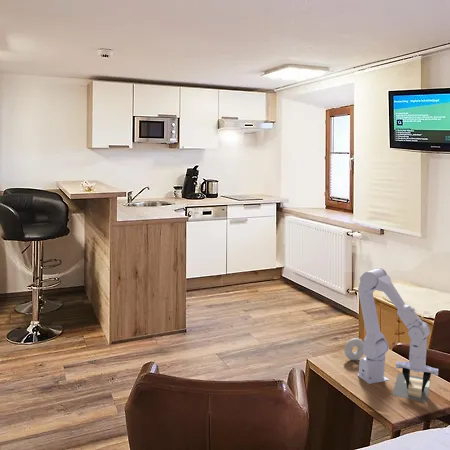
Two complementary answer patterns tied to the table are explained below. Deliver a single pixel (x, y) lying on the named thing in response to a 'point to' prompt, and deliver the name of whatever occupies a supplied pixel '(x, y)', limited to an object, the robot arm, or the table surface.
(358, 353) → the donut
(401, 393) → the mat
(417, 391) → the beige wooden block
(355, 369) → the table surface
